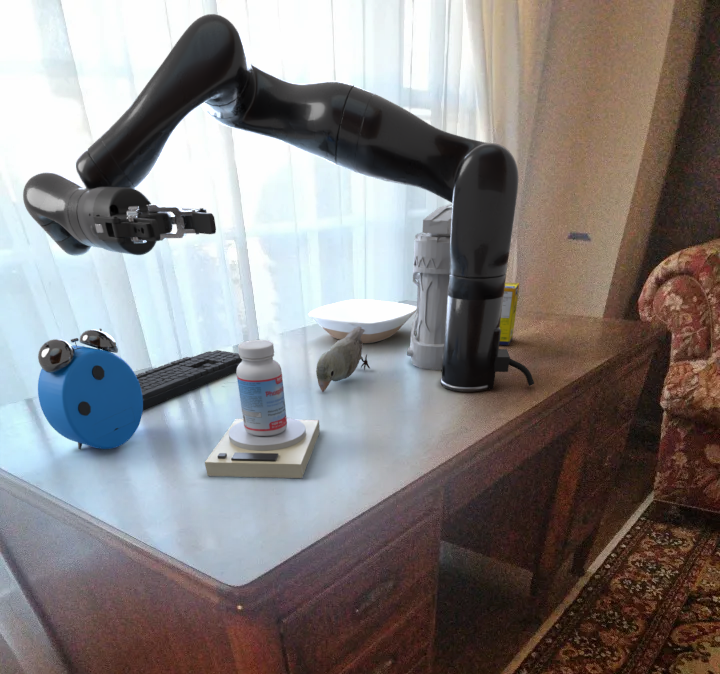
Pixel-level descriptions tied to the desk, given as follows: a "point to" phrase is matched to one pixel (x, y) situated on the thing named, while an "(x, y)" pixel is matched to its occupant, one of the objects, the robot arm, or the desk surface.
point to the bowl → (363, 318)
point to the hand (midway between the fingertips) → (185, 227)
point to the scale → (264, 451)
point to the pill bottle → (261, 389)
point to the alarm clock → (89, 391)
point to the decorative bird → (341, 359)
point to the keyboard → (185, 375)
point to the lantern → (431, 289)
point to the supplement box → (508, 312)
